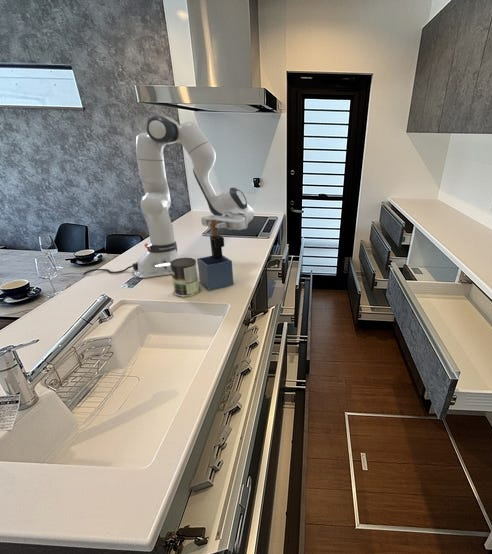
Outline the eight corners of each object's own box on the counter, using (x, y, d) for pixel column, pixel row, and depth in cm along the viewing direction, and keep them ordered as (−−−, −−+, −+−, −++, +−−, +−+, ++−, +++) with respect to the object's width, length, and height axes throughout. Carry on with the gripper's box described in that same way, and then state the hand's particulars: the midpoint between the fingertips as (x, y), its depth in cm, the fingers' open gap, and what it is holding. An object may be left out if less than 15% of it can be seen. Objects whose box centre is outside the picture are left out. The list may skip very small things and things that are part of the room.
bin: (209, 290, 134) (206, 266, 130) (199, 282, 143) (197, 258, 138) (233, 284, 141) (231, 260, 137) (223, 276, 149) (220, 253, 145)
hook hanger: (211, 257, 135) (207, 219, 128) (219, 255, 137) (216, 218, 131) (217, 261, 131) (213, 222, 124) (225, 259, 133) (222, 221, 126)
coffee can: (174, 298, 127) (169, 267, 121) (174, 288, 136) (170, 258, 130) (200, 295, 130) (196, 264, 125) (199, 285, 139) (195, 256, 134)
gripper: (211, 210, 142) (191, 216, 130) (249, 214, 136) (232, 221, 124) (213, 224, 145) (193, 230, 133) (250, 228, 138) (233, 236, 126)
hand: (212, 226), depth 128 cm, fingers closed on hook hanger, 2 cm apart
